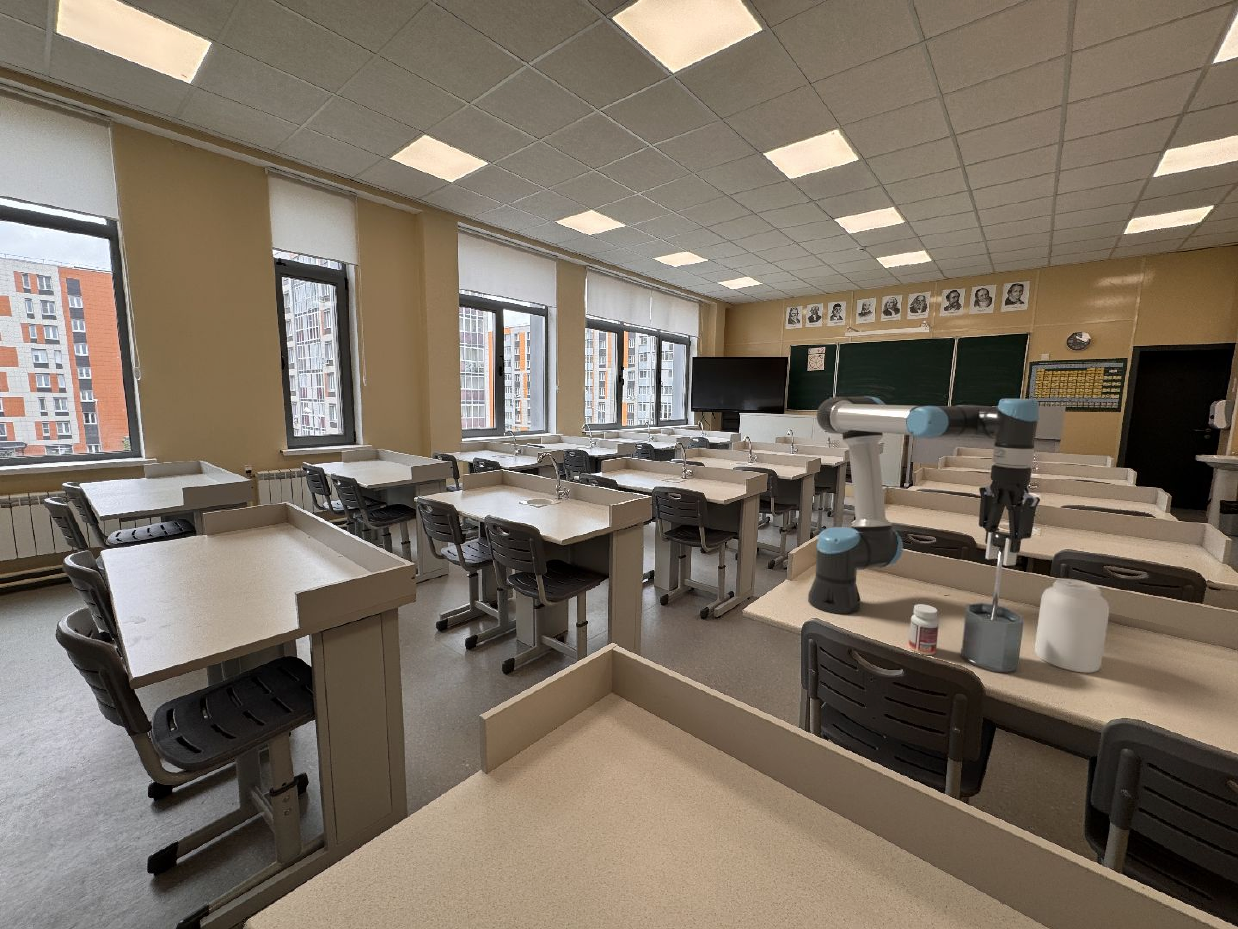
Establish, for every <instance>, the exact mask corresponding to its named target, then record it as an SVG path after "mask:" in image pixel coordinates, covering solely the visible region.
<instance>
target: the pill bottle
mask: <svg viewBox="0 0 1238 929" xmlns="http://www.w3.org/2000/svg"><path fill="white" fill-rule="evenodd" d="M937 618H938V609H937V608H936V607H933V605H932V606H931V605H928V604H924V603H918V604H915V605H914V607H913V614H912V616H911V617H910V625H909V626H910V627H909V628H910V629H909V636H908V637H909V638H908V647H909V649H910V650H912V651H913V652H914V651H915V652H914V653H917V652H918V653H917V654H919V653H920V654H919V655H923V654H924V655H923V656H930V655H934V654H936V653H937V648H938V647H937V644H938V634H939V620H938V619H937Z"/></svg>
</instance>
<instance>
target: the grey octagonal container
mask: <svg viewBox="0 0 1238 929" xmlns="http://www.w3.org/2000/svg"><path fill="white" fill-rule="evenodd" d="M992 604H993V603H992ZM992 604H990V603H986V602H977V603H976V602H974V603H967V604H966V607H965V613H964V614H965V615H964V624H963V630H962V631H963V632H962V642H961V649H960V657H961V658H962V659H963V661H965V662H966V663H968V664H969V665H972V666H973V667H975V668H978V669H981V670H984V671H988V672H991V673H995V674H996V673H998V674H1012V673H1015V672H1017V671H1018V668H1019V662H1020V654H1021V647H1022V646H1021V645H1022V641H1023V640H1022V639H1023V631H1024V624H1025V623H1024V617H1023V615H1022V614H1021V613H1019V612H1016V611H1014V610H1012V609H1010V608H1008V607H1005V606H1002V605H997V613H996V616H999V617H1002V618H1005V619H1007V620H1009V621H1011V622H1008V623H1005V622H1000V621H995V620H990V619H985V618H983V617H981V616H979V615H977V614H991V612H992Z"/></svg>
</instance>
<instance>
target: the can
mask: <svg viewBox="0 0 1238 929" xmlns="http://www.w3.org/2000/svg"><path fill="white" fill-rule="evenodd" d="M1101 594H1102V591H1101V590H1100V588H1099V587H1098V586H1097V585H1094V584H1092V583H1090V582H1086V581H1083V580H1080V579H1073V578H1056V580H1055V581H1054V582H1053V585H1052V586H1050V587H1047V588H1046V589H1044V590H1043V592H1042V595H1041V598H1040V606H1039V614H1038V621H1037V629H1036V636H1035V645H1034V651H1035V654H1036V655H1037V656H1038V658H1040V659H1041V660H1043V661H1044V662H1046V663H1048V664H1050V665H1052V666H1055V667H1058V668H1060V669H1064V670H1067V671H1068V670H1069V671H1072V672H1078V673H1095V672H1097V671H1099V669H1100V668H1101V667H1102V661H1103V655H1104V648H1105V642H1106V636H1107V629H1108V623H1109V616H1110V608H1109V603H1108V601H1107V600H1106V599H1105V598H1104V597H1103V596H1102V595H1101Z"/></svg>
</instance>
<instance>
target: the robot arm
mask: <svg viewBox="0 0 1238 929" xmlns="http://www.w3.org/2000/svg"><path fill="white" fill-rule="evenodd" d="M1039 409H1040V403H1039V401H1038V400H1036V399H1034V398H1001V399H1000V400H999V402H998V405H997V406H985V405H974V404H961V405H960V404H958V405H951V406H950V405H949V406H947V405H942V406H941V405H905V404H904V405H902V404H901V405H899V404H886V403H885V402H884V401H882V400H881V399H880V398H878V397H875V396H874V397H873V396H866V395H863V396H861V395H860V396H834V397H829V398H828V399H826V400H824V401H823V402H822V403H821V404H820V405H819V406H818V409H817V411H816V421H817V424H818V425H819V427H820V428H821V429H822V430H823V431H825V432H827V433H829V434H830V433H831V434H836V435H842V441H843V442H844V443H845V444H847V445H848V454H849V462H850V472H851V474H850V475H851V482H852V483H851V485H852V494H853V504H854V505H853V506H854V514H855V520H854V521H853V523H852V524H851V526H850V527H846V526H841V527H839V526H834V527H832V526H831V527H828V528H825V529H823V530H821V532H819V534H818V537H817V543H816V563H815V577H814V580H813V582H812V584H811V586H810V589H809V591H808V593H807V594H808V597H807V602H808V603H809V604H810V605H811V606H812V607H814V608H816V609H818V610H821V611H823V612H827V613H833V614H840V615H841V614H847V615H848V614H855V613H857V612H859V611H860V610H861V607H862V606H861V605H862V600H861V597H860V593H859V588H858V585H857V574H858V571H860V570H867V569H876V568H878V569H881V568H885V567H889V566H890V567H891V566H893V565H894V564H896V563H897V562H898V561H899V560H900V559H901V557H902V554H903V551H904V545H903V544H904V543H903V540H902V537H901V536H900V535H899V533H898V531H896V530H895V529H893V524H892V523H891V522H890V521H889V520H888V519H887V518H886V508H885V498H884V491H883V490H884V488H883V479H882V476H883V475H882V467H881V458H880V448H879V443H880V440H881V439H883V437H884V435H883V433H884V434H892V435H893V434H894V435H907V436H914V437H916V438H920V439H921V438H923V439H934V438H953V437H955V438H957V437H958V438H959V437H980V438H989V439H994V442H993V445H994V446H993V453H992V463H994V464H993V465H991V469H990V480H991V483H990V486H982V487H979V489H978V490H979V494H980V503H979V515H978V516H979V517H978V526H979V527H980V528H983V529H984V530H985V539H984V543H985V544H986V551H985V559H986V560H996V559H997V560H998V553H999V547H996V546H993V545H992V538H993V532H995V531H1000V530H1001V529H999V526H1000V522H1001V520H1002V516H1003V513H1004V510H1005V509H1006V510H1007V513H1008V514H1007V515H1008V516H1007V517H1008V528H1009V530H1008V531H1009V533H1010V537H1007V538H1006V544H1005V548H1004V555H1003V564H1002V566H1005V567H1006V566H1007V567H1009V566H1016V564H1017V554H1018V553H1020V551H1021V544H1022V540H1025V539H1026V540H1027V539H1031V538H1032V534H1033V527H1034V523H1035V522H1034V521H1035V516H1036V511H1037V510H1036V509H1037V506H1038V505H1039V503H1040V501H1041V498H1040V497H1037V496H1035V497H1034V496H1033V495H1031V494H1030V493H1029V489H1028V485H1029V484H1030V483H1031V477H1032V468H1031V467H1030V466H1032V465H1033V463H1034V452H1035V444H1036V443H1035V441H1036V437H1037V436H1036V435H1037V429H1038V422H1039V420H1040V418H1039V413H1040V412H1039Z"/></svg>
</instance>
